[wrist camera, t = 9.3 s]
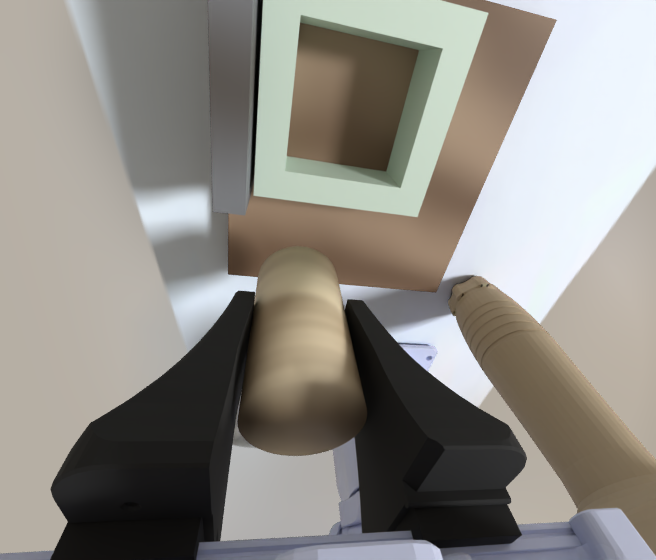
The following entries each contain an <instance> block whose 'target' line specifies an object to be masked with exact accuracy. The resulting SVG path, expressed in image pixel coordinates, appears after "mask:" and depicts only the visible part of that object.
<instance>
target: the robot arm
mask: <svg viewBox="0 0 656 560" xmlns="http://www.w3.org/2000/svg"><path fill="white" fill-rule="evenodd" d="M254 301H255V292H248V291H238V292H236V293H235V295H234V297H233V299H232V300H231V302H230V304H229V305H228V307H227V308H226V309H225V311H224V312H223V314H222V315H221V316H220V318H219V319H218V320H217V321H216V323H215V324H214V325H213V327H212V328H211V329H210V330H209V331H208V332H207V333H206V335H205V336H204V337H203V338H202V339H201V340H200V341H199V342H198V343H197V344H196V345H195V346H194V347H193V348H192V349H191V350H190V351H189V352H188V353H187V354H186V355H185V356H184V357H183V358H182V359H181V360H180V361H179V362H178V363H176V364H175V365H174V366H173V367H172V368H170V369H169V370H168V371H167V372H166V373H165V374H164V375H162V376H161V377H160V378H158V379H157V380H156V381H154V382H153V383H151V384H150V385H149V386H147V387H146V388H144V389H143V390H142V391H140V392H139V393H138V394H136V395H135V396H134V397H132V398H130V399H129V400H127V401H126V402H124V403H123V404H121V405H119V406H118V407H116V408H115V409H113V410H111V411H110V412H108V413H107V414H105V415H103V416H101V417H100V418H98V419H96V420H95V421H93V422H91V423H90V424H89V426H88V427H87V428H86V430H85V431H84V432H83V434H82V435H81V436H80V438H79V439H78V441H77V442H76V443H75V445H74V446H73V448H72V449H71V451H70V452H69V454H68V456H67V458H66V460H65V461H64V463H63V465H62V467H61V469H60V470H59V472H58V474H57V476H56V478H55V479H54V481H53V484H52V487H51V492H52V496H53V498H54V500H55V502H56V503H57V505H58V507H59V508H60V510H61V511H62V513H63V514H64V516H65V518H66V519H67V521H68V523H67V525H66V527H65V529H64V532H63V533H62V536H61V538H60V540H59V542H58V544H57V546H56V548H55V550H54V551H39V552H22V553H3V554H0V560H656V556H655V554H654V553H653V552H652V550H651V549H650V548H649V546H648V545H647V544H646V542H645V541H644V540H643V538H642V537H641V536H640V534H639V533H638V532H637V530H636V529H635V528H634V526H633V525H632V523H631V522H630V521H629V519H628V518H627V517H626V515H625V514H624V513H623V511H622V510H621V509H619V508H602V509H588V510H584V511H581V512H579V513H577V514H576V515H574V516H573V517H572V518H571V519H570V520H569V522H554V523H537V524H520V525H517V523H516V521H515V519H514V517H513V515H512V513H511V511H510V509H509V507H508V505H507V504H510V503H511V498H510V496H509V494H508V492H507V490H506V488H505V487H506V486H507V485H508V484H509V483H510V482H511V481H512V480H513V479H514V478H515V477H516V476H517V475H518V474H519V473H520V472H521V471H522V469H523V468H524V467H525V463H526V460H527V457H526V454H525V452H524V450H523V448H522V447H521V445H520V444H519V442H518V440H517V439H516V437H515V435H514V434H513V432H512V430H511V429H510V427H509V426H508V425H507V424H505V423H504V422H502V421H500V420H498V419H497V418H495V417H493V416H491V415H490V414H488V413H486V412H484V411H483V410H481V409H479V408H478V407H476V406H474V405H473V404H471V403H470V402H468V401H467V400H465V399H464V398H462V397H461V396H459V395H458V394H456V393H455V392H454V391H452V390H451V389H449V388H448V387H447V386H445V385H444V384H443V383H441V382H440V381H439V380H438V379H436V378H435V377H434V376H432V375H431V374H430V373H429V372H428V371H429V369H430V367H431V365H432V363H433V361H434V359H435V357H436V355H437V349H436V347H434V346H425V345H406V344H398V343H397V342H396V341H395V339H394V338H393V337H392V336H391V335H390V334H389V333H388V332H387V330H386V329H385V328H384V327H383V326H382V324H381V323H380V322H379V321H378V320H377V318H376V317H375V316H374V315H373V313H372V312H371V311H370V309H369V308H368V307H367V306H366V304H365V303H364V302H363V301H362V300H349V299H348V300H347V304H346V308H345V314H346V318H347V323H348V327H349V332H350V336H351V341H352V345H353V350H354V354H355V358H356V363H357V367H358V372H359V376H360V381H361V385H362V390H363V394H364V399H365V403H366V407H367V419H366V422H365V424H364V426H363V428H362V429H361V431H360V432H359V433H358V434H357V435H356V436H355V437H354V438H352V439H351V440H350V441H348V442H346V443H345V444H343V445H341V446H339V447H337V448H334V449H333V455H334V464H335V473H336V482H337V488H338V493H339V496H340V498H341V502H339V511H340V519H341V521H340V522H337V523H336V524H334V525H333V526H332V528H331V530H330V533H329V535H324V536H305V537H287V538H270V539H253V540H235V541H220V538H221V530H222V521H223V514H224V505H225V497H226V490H227V482H228V474H229V465H230V457H231V450H232V443H233V435H234V428H235V420H236V415H237V409H238V405H239V400H240V396H241V392H242V387H243V380H244V372H245V365H246V358H247V351H248V344H249V337H250V330H251V325H252V318H253V311H254Z"/></svg>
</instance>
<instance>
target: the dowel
mask: <svg viewBox="0 0 656 560" xmlns="http://www.w3.org/2000/svg"><path fill="white" fill-rule="evenodd" d="M366 419H367V407H366V403H365V399H364V394H363V390H362V385H361V381H360V376H359V372H358V367H357V363H356V358H355V354H354V350H353V345H352V341H351V336H350V332H349V327H348V323H347V318H346V314H345V310H344V305H343V301H342V296H341V292H340V287H339V283H338V278H337V274H336V270H335V268H334V266H333V264H332V262H331V261H330V260H329V259H328V258H327V257H326V256H325V255H324V254H322V253H321V252H319V251H317V250H315V249H312V248H308V247H300V246H296V247H288V248H284V249H281V250H279V251H277V252H275V253H273V254H272V255H271V256H269V257H268V258H267V259H266V260H265V261H264V263H263V264H262V266H261V268H260V270H259V274H258V281H257V288H256V295H255V302H254V311H253V318H252V325H251V330H250V337H249V344H248V351H247V358H246V365H245V372H244V380H243V387H242V394H241V401H240V408H239V415H238V428H239V431H240V433H241V435H242V436H243V437H244V438H245V440H246V441H248V442H249V443H250V444H252V445H253V446H255V447H257V448H259V449H261V450H264V451H266V452H270V453H273V454H279V455H288V456H303V455H312V454H317V453H322V452H325V451H329V450H332V449H334V448H337V447H339V446H341V445H343V444H345V443H346V442H348V441H350V440H351V439H352V438H354V437H355V436H356V435H357V434H358V433H359V432H360V431H361V429H362V428H363V426H364V424H365V422H366Z"/></svg>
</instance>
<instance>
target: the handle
mask: <svg viewBox="0 0 656 560" xmlns="http://www.w3.org/2000/svg"><path fill="white" fill-rule="evenodd" d="M448 305H449V308H450V310H451V312H452V314H453V316H456V320H457V322H458V325H459V328H460V330H461V332H462V335H463V337H464V339H465V341H466V343H467V344H468V346H469V348H470V350H471V352H472V353H473V355H474V357H475V359H476V360H477V362H478V363H479V365H480V367H481V368H482V370H483V371H484V373H485V374H486V376H487V377H488V379H489V380H490V381H491V383H492V384H493V385H494V387H495V388H496V390H497V391H498V392H499V394H500V395H501V397H502V398H503V399H504V401H505V402H506V403H507V405H508V406H509V408H510V409H511V410H512V412H513V413H514V414H515V416H516V417H517V418H518V420H519V421H520V423H521V424H522V425H523V427H524V428H525V430H526V431H527V432H528V434H529V435H530V437H531V438H532V440H533V441H534V442H535V444H536V445H537V447H538V448H539V450H540V451H541V452H542V454H543V455H544V457H545V458H546V460H547V461H548V462H549V464H550V465H551V467H552V468H553V469H554V471H555V472H556V474H557V475H558V477H559V478H560V479H561V481H562V482H563V484H564V486H565V488H566V489H567V491H568V493H569V495H570V496H571V498H572V500H573V501H574V503H575V505H576V507H577V508H578V510H577V513H579V512H581V511H584V510H588V509H602V508H619V509H621V510H622V511H623V513H624V514H625V515H626V517H627V518H628V519H629V521H630V522H631V523H632V525H633V526H634V528H635V529H636V530H637V532H638V533H639V534H640V536H641V537H642V538H643V540H644V541H645V542H646V544H647V545H648V546H649V548H650V549H651V550H652V552H653V553H654V554H655V556H656V459H655V458H654V457H653V456H652V455H651V454H650V453H649V452H648V451H647V449H646V448H645V447H644V446H643V445H642V444H641V442H640V441H639V440H638V439H637V438H636V437H635V435H634V434H633V433H632V432H631V431H630V430H629V428H628V427H627V426H626V425H625V424H624V422H622V420H621V419H620V418H619V417H618V415H617V414H616V413H615V412H614V411H613V410H612V408H611V407H610V406H609V405H608V404H607V402H606V401H605V400H604V399H603V398H602V397H601V395H600V394H599V393H598V392H597V391H596V390H595V388H594V387H593V386H592V385H591V383H590V382H589V381H588V380H587V379H586V377H585V376H584V375H583V374H582V373H581V371H580V370H579V369H578V368H577V367H576V365H574V363H573V362H572V360H570V358H569V357H568V356H567V354H566V353H565V352H564V351H563V350H562V348H561V347H560V346H559V345H558V344H557V342H556V341H555V340H554V339H553V338H552V337H551V336H550V335H549V334H548V333H547V331H546V330H545V329H543V327H541V325H540V324H539V323H538V322H537V321H536V320H535V319H534V318H533V317H532V316H531V315H530V314H529V313H528V312H526V311H525V310H524V309H523V308H522V307H521V306H520V305H519V304H518V303H516V302H515V301H514V300H513V299H512V298H510V297H509V296H507V295H506V294H504V293H503V292H502V291H500V290H499V289H498V288H497V287H495V286H494V285H493V284H490V283H489V282H488V281H487V280H485V279H484V278H482V277H480V276H475V277H471V278H470V279H469V280H468V281H466V282H463V283H461V284H456V285H455V286H454V287H453V288H452V296H451V298H450V299H449V300H448Z"/></svg>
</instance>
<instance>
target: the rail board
mask: <svg viewBox="0 0 656 560" xmlns="http://www.w3.org/2000/svg"><path fill="white" fill-rule="evenodd" d="M442 1H446V2H449V3H453V4H457V5H461V6H464V7H468V8H472V9H476V10H479V11H483V12H487V13H488V16H487V19H486V22H485V25H484V28H483V31H482V34H481V36H480V39H479V42H478V45H477V48H476V51H475V54H474V56H473V59H472V62H471V65H470V68H469V71H468V74H467V77H466V79H465V82H464V85H463V88H462V91H461V94H460V97H459V99H458V102H457V105H456V108H455V111H454V114H453V117H452V120H451V122H450V125H449V128H448V131H447V134H446V137H445V140H444V142H443V145H442V148H441V151H440V154H439V157H438V160H437V163H436V165H435V168H434V171H433V174H432V177H431V180H430V183H429V185H428V188H427V191H426V194H425V197H424V200H423V203H422V206H421V208H420V211H419V214H418V217H412V216H405V215H397V214H389V213H382V212H374V211H367V210H359V209H351V208H344V207H336V206H328V205H321V204H313V203H306V202H298V201H290V200H283V199H275V198H267V197H260V196H254V175H255V155H256V134H257V114H258V94H259V73H260V53H261V33H262V12H263V0H208V28H209V72H210V115H211V159H212V203H213V212H219V213H228V274H229V275H241V276H252V277H258V274H259V270H260V268H261V266H262V264H263V263H264V261H265V260H266V259H267V258H268V257H269V256H271V255H272V254H273V253H275V252H277V251H279V250H281V249H284V248H288V247H296V246H300V247H308V248H312V249H315V250H317V251H319V252H321V253H322V254H324V255H325V256H326V257H327V258H328V259H329V260H330V261H331V262H332V264H333V266H334V268H335V270H336V274H337V278H338V283H339V284H345V285H356V286H368V287H380V288H391V289H403V290H414V291H426V292H436V291H437V289H438V287H439V285H440V282H441V280H442V278H443V275H444V273H445V271H446V269H447V266H448V264H449V262H450V260H451V257H452V255H453V253H454V251H455V248H456V246H457V244H458V242H459V239H460V237H461V235H462V233H463V230H464V228H465V226H466V224H467V221H468V219H469V217H470V215H471V212H472V210H473V208H474V206H475V203H476V201H477V199H478V197H479V194H480V192H481V190H482V187H483V185H484V183H485V181H486V178H487V176H488V174H489V172H490V169H491V167H492V165H493V163H494V160H495V158H496V156H497V154H498V151H499V149H500V147H501V145H502V142H503V140H504V138H505V136H506V133H507V131H508V129H509V127H510V124H511V122H512V120H513V118H514V115H515V113H516V111H517V109H518V106H519V104H520V102H521V99H522V97H523V95H524V93H525V90H526V88H527V86H528V84H529V81H530V79H531V77H532V75H533V72H534V70H535V68H536V66H537V63H538V61H539V59H540V57H541V54H542V52H543V50H544V48H545V45H546V43H547V41H548V39H549V36H550V34H551V32H552V30H553V27H554V25H555V23H556V21H557V20H555V19H552V18H548V17H544V16H541V15H537V14H533V13H530V12H526V11H522V10H519V9H515V8H511V7H508V6H504V5H501V4H497V3H493V2H490V1H486V0H442ZM418 52H419V50H416V49H412V48H407V47H403V46H399V45H395V44H390V43H386V42H382V41H377V40H373V39H369V38H365V37H360V36H356V35H352V34H347V33H343V32H339V31H334V30H330V29H326V28H322V27H317V26H313V25H309V24H304V23H300V27H299V37H298V47H297V57H296V67H295V77H294V87H293V97H292V107H291V117H290V127H289V137H288V147H287V156H289V157H295V158H302V159H308V160H315V161H321V162H327V163H334V164H340V165H347V166H353V167H360V168H366V169H372V170H379V171H385V172H386V171H387V167H388V163H389V160H390V156H391V152H392V149H393V145H394V141H395V137H396V134H397V130H398V126H399V123H400V119H401V115H402V112H403V108H404V104H405V100H406V97H407V93H408V89H409V86H410V82H411V78H412V74H413V71H414V67H415V63H416V60H417V56H418Z"/></svg>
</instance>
